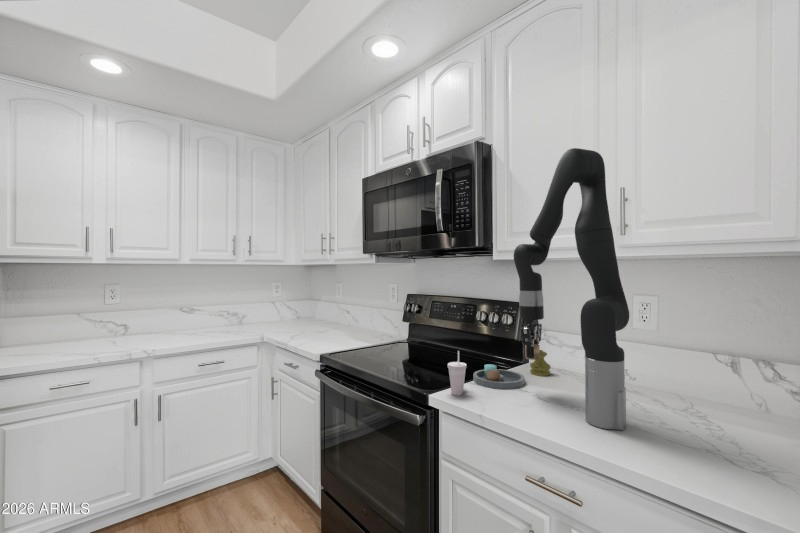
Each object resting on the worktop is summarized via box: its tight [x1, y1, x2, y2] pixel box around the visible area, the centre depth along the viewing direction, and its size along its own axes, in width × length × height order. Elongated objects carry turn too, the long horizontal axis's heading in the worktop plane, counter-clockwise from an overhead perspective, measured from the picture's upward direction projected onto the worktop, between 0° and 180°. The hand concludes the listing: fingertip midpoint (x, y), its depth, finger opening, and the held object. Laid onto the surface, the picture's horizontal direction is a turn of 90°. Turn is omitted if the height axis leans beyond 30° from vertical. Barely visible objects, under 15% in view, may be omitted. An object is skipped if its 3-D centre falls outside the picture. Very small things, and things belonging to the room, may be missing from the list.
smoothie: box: [447, 350, 468, 396], centre depth 124 cm, size 6×6×14 cm
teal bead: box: [483, 363, 498, 379], centre depth 139 cm, size 4×4×4 cm
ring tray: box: [472, 368, 526, 390], centre depth 134 cm, size 18×18×3 cm
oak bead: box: [524, 344, 541, 361], centre depth 123 cm, size 4×4×4 cm
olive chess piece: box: [529, 349, 552, 377], centre depth 144 cm, size 7×7×10 cm
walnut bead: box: [487, 370, 500, 382], centre depth 130 cm, size 4×4×4 cm
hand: (532, 356), depth 123 cm, fingers closed on oak bead, 4 cm apart
